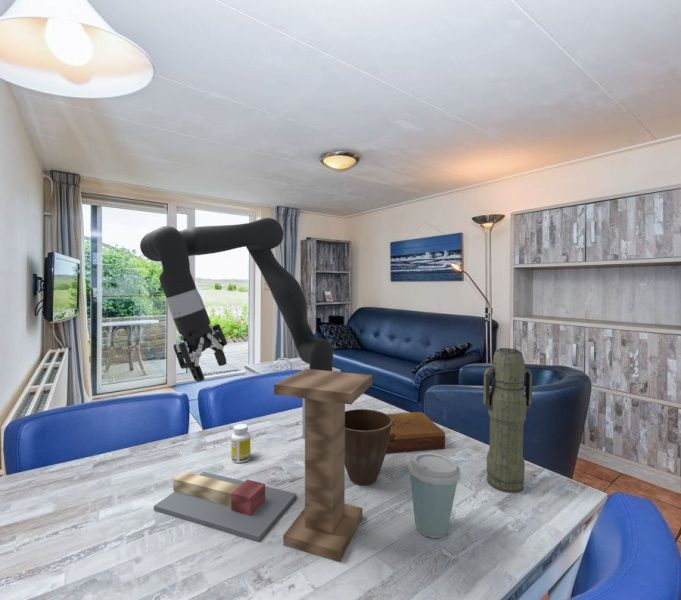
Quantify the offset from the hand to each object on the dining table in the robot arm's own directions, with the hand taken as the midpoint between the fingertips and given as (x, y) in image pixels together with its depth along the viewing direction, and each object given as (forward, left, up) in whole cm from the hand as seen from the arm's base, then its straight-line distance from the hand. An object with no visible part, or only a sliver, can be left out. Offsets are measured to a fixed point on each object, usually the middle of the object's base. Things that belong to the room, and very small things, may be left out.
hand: (212, 372), depth 89 cm
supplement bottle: (-12, -11, -30) cm, 34 cm away
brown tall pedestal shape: (-13, +29, -30) cm, 44 cm away
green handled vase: (-60, +44, -30) cm, 80 cm away
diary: (-59, +9, -30) cm, 67 cm away
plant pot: (-33, +19, -30) cm, 48 cm away
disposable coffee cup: (-31, +43, -30) cm, 61 cm away
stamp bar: (+1, +5, -29) cm, 29 cm away
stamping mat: (0, +8, -30) cm, 31 cm away
